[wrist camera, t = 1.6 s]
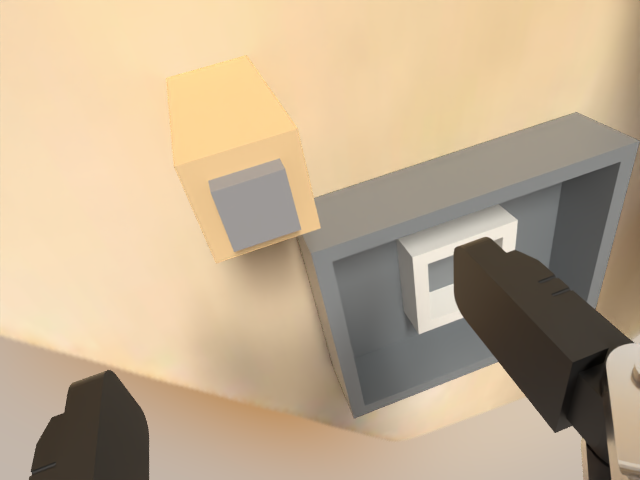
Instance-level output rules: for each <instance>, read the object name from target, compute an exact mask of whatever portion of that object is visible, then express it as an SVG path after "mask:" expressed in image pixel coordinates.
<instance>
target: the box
mask: <svg viewBox="0 0 640 480" xmlns="http://www.w3.org/2000/svg"><path fill="white" fill-rule="evenodd" d="M639 142H640V141H639V140H637V139H635V138H632V137H630V136H628V135H626V134H623V133H621V132H619V131H617V130H615V129H612V128H610V127H608V126H606V125H604V124H601V123H599V122H597V121H595V120H593V119H590V118H588V117H586V116H584V115H582V114H579V113H577V112H575V113H572V114H569V115H566V116H563V117H560V118H557V119H554V120H551V121H548V122H545V123H542V124H539V125H536V126H533V127H530V128H527V129H524V130H521V131H517V132H514V133H511V134H508V135H505V136H502V137H499V138H496V139H493V140H490V141H487V142H484V143H481V144H478V145H475V146H472V147H469V148H466V149H463V150H460V151H456V152H453V153H450V154H447V155H444V156H441V157H438V158H435V159H432V160H429V161H426V162H423V163H420V164H417V165H414V166H411V167H408V168H405V169H402V170H398V171H395V172H392V173H389V174H386V175H383V176H380V177H377V178H374V179H371V180H368V181H365V182H362V183H359V184H356V185H353V186H350V187H347V188H344V189H341V190H337V191H334V192H331V193H328V194H325V195H322V196H319V197H316V198H314V201H315V205H316V209H317V214H318V218H319V222H320V226H321V228H320V229H317V230H314V231H311V232H308V233H305V234H302V235H299V236H297V239H298V242H299V246H300V249H301V253H302V257H303V260H304V264H305V267H306V271H307V275H308V278H309V282H310V285H311V289H312V293H313V296H314V300H315V304H316V307H317V311H318V314H319V318H320V322H321V325H322V329H323V332H324V336H325V340H326V343H327V347H328V350H329V354H330V358H331V361H332V365H333V368H334V370H335V373H336V375H337V378H338V380H339V383H340V385H341V388H342V390H343V393H344V395H345V397H346V400H347V402H348V405H349V407H350V410H351V412H352V415H353V417H354V418H357V417H359V416H362V415H364V414H367V413H369V412H372V411H374V410H377V409H379V408H382V407H385V406H387V405H390V404H392V403H395V402H397V401H400V400H402V399H405V398H407V397H410V396H413V395H415V394H418V393H420V392H423V391H425V390H428V389H430V388H433V387H435V386H438V385H441V384H443V383H446V382H448V381H451V380H453V379H456V378H458V377H461V376H463V375H466V374H468V373H471V372H474V371H476V370H479V369H481V368H484V367H486V366H489V365H491V364H494V363H496V362H498V360H497V359H496V358H495V357H494V355H493V354H492V353H491V352H490V350H489V349H488V348H487V347H486V345H485V344H484V343H483V342H482V340H481V339H480V338H479V336H478V335H477V334H476V333H475V331H474V330H473V329H472V328H471V326H470V325H469V324H468V323H467V321H466V320H465V319H464V317H463V316H462V314H461V313H460V311H459V309H458V307H457V304H456V301H455V298H454V262H453V254H454V249H455V248H456V247H457V246H460V245H463V244H466V243H469V242H471V241H474V240H477V239H480V238H483V237H489V238H491V239H492V240H493V241H494V242H495V243H497V244H498V245H499V246H500V247H501V248H502V249H503V250H504V251H505V252H506V253H507V252H510V251H513V250H517V251H519V252H522V253H524V254H526V255H528V256H531V257H533V258H535V259H537V260H539V261H540V262H541V263H542V264H543V265H545V266H546V267H547V268H548V269H549V270H550V271H551V272H553V273H554V274H555V277H556V278H559V279H561V280H562V281H563V282H564V283H565V284H566V285H567V286H569V289H570V290H571V291H572V290H573V291H574V292H576V293H577V294H578V295H579V296H580V297H581V298H582V299H584V300H585V301H586V302H587V303H588V304H589V305H590V306H592V307H593V308H594V309H596V305H597V302H598V298H599V294H600V290H601V286H602V283H603V279H604V275H605V271H606V267H607V264H608V260H609V256H610V252H611V248H612V245H613V241H614V237H615V233H616V229H617V226H618V222H619V218H620V214H621V211H622V207H623V203H624V199H625V195H626V192H627V188H628V184H629V180H630V176H631V173H632V169H633V165H634V161H635V157H636V154H637V150H638V146H639Z"/></svg>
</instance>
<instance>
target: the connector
mask: <svg viewBox="0 0 640 480" xmlns="http://www.w3.org/2000/svg"><path fill="white" fill-rule="evenodd" d="M166 81H167V92H168V104H169V115H170V127H171V138H172V149H173V161H174V168H175V170H176V172H177V175H178V177H179V179H180V181H181V184H182V186H183V188H184V191H185V193H186V195H187V198H188V200H189V202H190V204H191V207H192V209H193V211H194V214H195V216H196V218H197V221H198V223H199V225H200V227H201V230H202V232H203V234H204V237H205V239H206V241H207V244H208V246H209V248H210V251H211V253H212V255H213V257H214V260H215V262H216V263H219V262H222V261H225V260H228V259H231V258H234V257H237V256H240V255H243V254H246V253H249V252H252V251H255V250H258V249H261V248H264V247H267V246H270V245H273V244H276V243H279V242H282V241H285V240H287V239H290V238H293V237H296V236H299V235H302V234H305V233H308V232H311V231H314V230H317V229H320V228H321V226H320V222H319V218H318V214H317V209H316V205H315V201H314V197H313V192H312V188H311V184H310V179H309V175H308V171H307V167H306V162H305V158H304V154H303V149H302V145H301V141H300V137H299V132H298V128H297V127H296V125H295V124H294V123H293V121H292V120H291V118H290V117H289V115H288V114H287V113H286V111H285V110H284V108H283V107H282V105H281V104H280V103H279V101H278V100H277V98H276V97H275V95H274V94H273V92H272V91H271V90H270V88H269V87H268V85H267V84H266V82H265V81H264V80H263V78H262V77H261V75H260V74H259V72H258V71H257V70H256V68H255V67H254V65H253V64H252V62H251V61H250V60H249V58H248V57H247V55H246V56H243V57H239V58H236V59H232V60H229V61H225V62H222V63H218V64H214V65H211V66H207V67H204V68H200V69H197V70H193V71H190V72H186V73H183V74H179V75H176V76H172V77H169V78H166Z"/></svg>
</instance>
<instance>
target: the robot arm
mask: <svg viewBox="0 0 640 480" xmlns="http://www.w3.org/2000/svg"><path fill="white" fill-rule="evenodd" d="M453 262H454V298H455V301H456V304H457V307H458V309H459V311H460V313H461V314H462V316H463V317H464V319H465V320H466V321H467V323H468V324H469V325H470V326H471V328H472V329H473V330H474V331H475V333H476V334H477V335H478V336H479V338H480V339H481V340H482V342H483V343H484V344H485V345H486V347H487V348H488V349H489V350H490V352H491V353H492V354H493V355H494V357H495V358H496V359H497V360H498V362H499V363H500V364H501V365H502V367H503V368H504V369H505V370H506V372H507V373H508V374H509V376H510V377H511V378H512V379H513V381H514V382H515V383H516V384H517V386H518V387H519V388H520V389H521V391H522V392H523V393H524V394H525V396H526V397H527V398H528V399H529V401H530V402H531V403H532V404H533V406H534V407H535V408H536V410H537V411H538V412H539V413H540V415H541V416H542V417H543V418H544V420H545V421H546V422H547V423H548V425H549V426H550V427H551V428H552V430H553V431H554V432H555V433H556V432H558V431H561V430H563V429H565V428H568V427H570V426H573V427H574V428H575V429H576V430H577V431H578V432H579V434H580V435H581V436H582V440H581V452H582V466H583V480H640V343H634V342H633V341H631V340H630V339H629V338H627V337H626V336H625V335H624V334H623V333H621V332H620V331H619V330H618V329H617V328H616V327H615V326H613V325H612V324H611V323H610V322H609V321H608V320H607V319H605V318H604V317H603V316H602V315H601V314H600V313H598V312H597V311H596V310H595V309H594V308H593V307H592V306H590V305H589V304H588V303H587V302H586V301H585V300H584V299H582V298H581V297H580V296H579V295H578V294H577V293H576V292H574V291H573V290H572V291H571V290H570V289H569V286H567V285H566V284H565V283H564V282H563V281H562V280H561V279H559V278H556V277H555V274H554V273H553V272H551V271H550V270H549V269H548V268H547V267H546V266H545V265H543V264H542V263H541V262H540V261H539V260H537V259H535V258H533V257H531V256H528V255H526V254H524V253H522V252H519V251H517V250H513V251H510V252H507V253H506V252H505V251H504V250H503V249H502V248H501V247H500V246H499V245H498V244H497V243H495V242H494V241H493V240H492V239H491V238H489V237H483V238H480V239H477V240H474V241H471V242H469V243H466V244H463V245H460V246H457V247H456V248H455V249H454V254H453ZM31 472H32V476H30V477H29V480H149V431H148V425H147V421H146V418H145V415H144V413H143V411H142V409H141V407H140V406H139V405H138V404H137V402H136V401H135V399H134V398H133V397H132V396H131V394H130V393H129V392H128V390H127V389H126V388H125V386H124V385H123V384H122V382H121V381H120V380H119V378H118V377H117V376H116V374H115V373H113V372H112V371H111V370H107V371H105V372H102V373H99V374H96V375H93V376H91V377H88V378H85V379H82V380H80V381H77V382H74V383H72V384H71V385H70V387H69V390H68V394H67V400H66V406H65V412H64V413H63V414H60V415H57V416H55V417H52V418H51V420H50V422H49V423H48V425H47V427H46V429H45V430H44V432H43V434H42V436H41V438H40V439H39V441H38V443H37V445H36V449H35V454H34V459H33V463H32V469H31Z"/></svg>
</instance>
